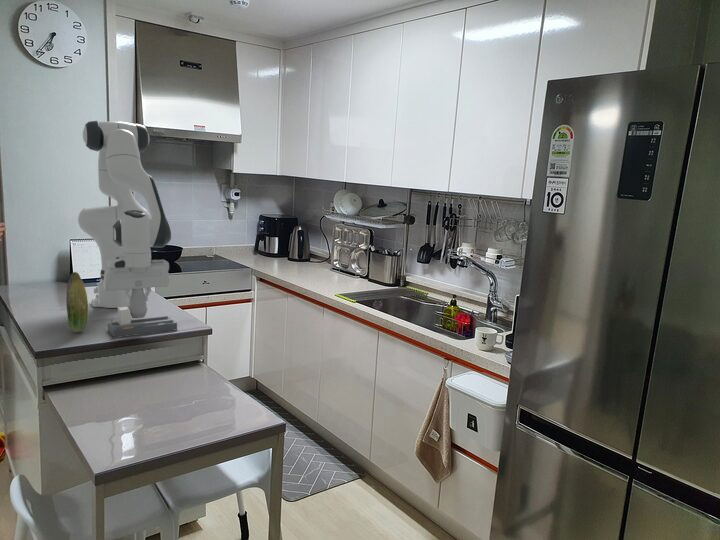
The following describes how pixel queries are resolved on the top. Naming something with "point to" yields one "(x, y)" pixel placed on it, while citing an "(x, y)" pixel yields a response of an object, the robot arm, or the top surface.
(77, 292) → the vegetable
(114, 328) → the switch plate
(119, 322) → the slider knob
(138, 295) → the salt shaker
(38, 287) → the top surface
